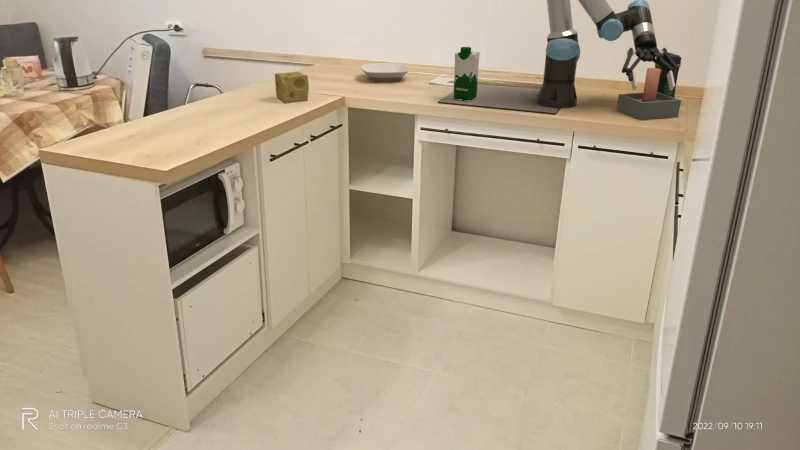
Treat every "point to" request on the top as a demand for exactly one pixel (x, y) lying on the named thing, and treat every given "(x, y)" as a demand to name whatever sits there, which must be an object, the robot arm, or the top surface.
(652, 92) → the peg
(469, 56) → the milk carton
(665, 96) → the box
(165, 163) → the top surface
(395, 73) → the bowl
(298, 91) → the cheese
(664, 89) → the coffee jar
